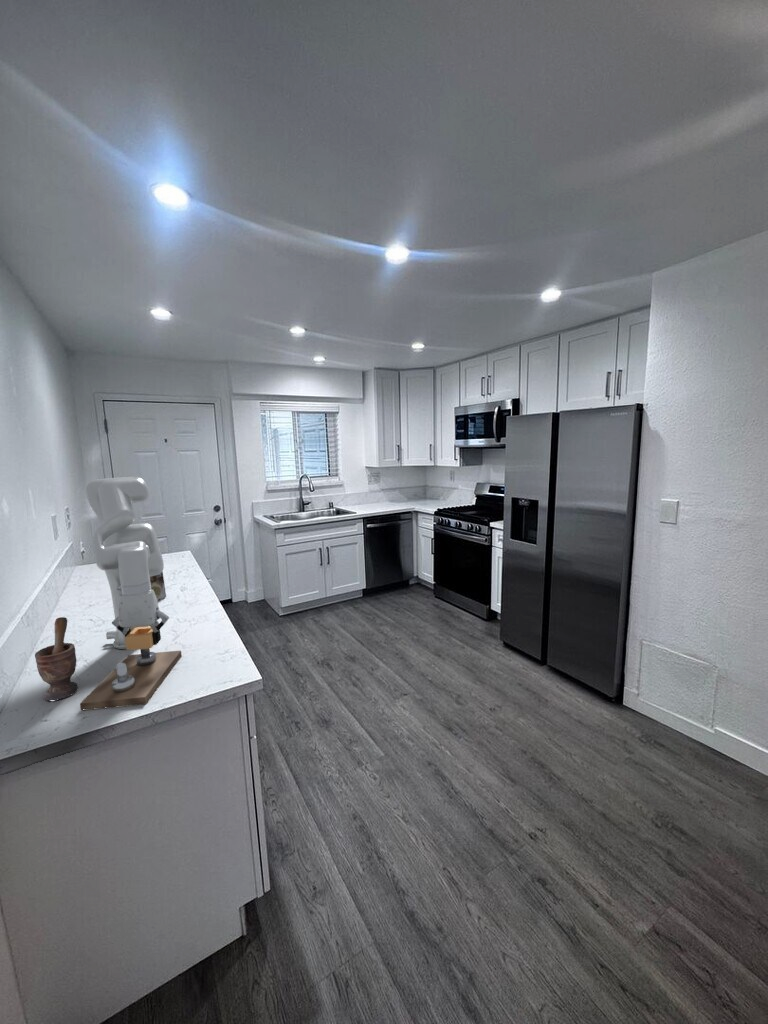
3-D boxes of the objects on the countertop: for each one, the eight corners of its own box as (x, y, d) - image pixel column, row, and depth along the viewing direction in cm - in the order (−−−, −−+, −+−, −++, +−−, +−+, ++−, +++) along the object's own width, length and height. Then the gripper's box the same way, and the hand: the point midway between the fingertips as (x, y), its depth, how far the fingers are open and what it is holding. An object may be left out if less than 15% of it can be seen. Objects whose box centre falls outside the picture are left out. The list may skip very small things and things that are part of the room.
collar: (126, 650, 125) (124, 637, 124) (137, 639, 132) (135, 627, 131) (150, 648, 126) (149, 635, 125) (160, 637, 132) (158, 625, 132)
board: (81, 710, 109) (79, 703, 109) (129, 661, 135) (128, 655, 134) (146, 704, 111) (145, 696, 110) (181, 656, 136) (180, 650, 136)
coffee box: (159, 595, 197) (155, 561, 195) (166, 597, 194) (162, 563, 191) (139, 601, 190) (134, 566, 188) (146, 604, 186) (141, 568, 184)
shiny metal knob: (133, 667, 126) (130, 645, 125) (141, 658, 132) (138, 637, 131) (151, 665, 127) (148, 643, 126) (159, 657, 132) (156, 636, 131)
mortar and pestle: (43, 688, 121) (31, 622, 118) (79, 677, 126) (69, 613, 123) (42, 706, 112) (29, 635, 109) (82, 693, 117) (71, 625, 114)
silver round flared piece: (109, 693, 113) (105, 668, 112) (118, 683, 118) (115, 659, 117) (129, 691, 113) (126, 666, 112) (138, 681, 118) (135, 657, 117)
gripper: (98, 594, 121) (107, 652, 124) (161, 590, 123) (169, 647, 126) (112, 585, 129) (119, 640, 132) (171, 582, 130) (178, 636, 133)
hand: (143, 643), depth 129 cm, fingers closed on collar, 6 cm apart
